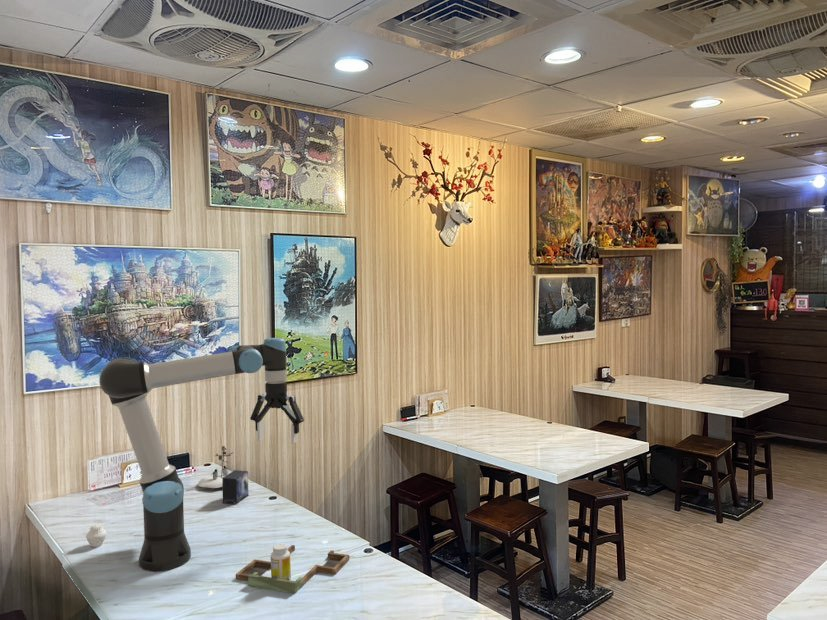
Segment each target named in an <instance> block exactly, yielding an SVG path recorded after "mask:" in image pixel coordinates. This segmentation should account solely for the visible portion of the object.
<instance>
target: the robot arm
mask: <svg viewBox="0 0 827 620" xmlns="http://www.w3.org/2000/svg"><path fill="white" fill-rule="evenodd" d="M262 367H264V381H265V383H264V385H265V386H264V389H265V390H264V391H265V394H264V393H261V394H258V395H257V402H256V404H255V406H254V408H253V410H252V413H251V415H250V417H249V418H250V421H254V423H255V431H256V432H257V441H258V442H261V441H263V440H264V439H265V433H264V420H263V418H264V417H265V416H266V415H267V413H268V412H269V410H270V409H279V410H280V409H281V411H283V412H284V413H285V415H286V416H287V418H288V419H289V420H290V421H291V423H292V424H290V425H291V426H290V427H291V429H290V431H291V435H290V436H291V444H296V443H297V442H298V434H299V432H300V424H302V423H304V421H305V418H304V415H302V412H301V410H300V408H299V406H298V403H297V401H296V396H295V395H294V394H293V395H291V396H288V383H287V345H286V339H284V338H282V337H269V338H268V337H267V338H264V341H263V343H262V344H250V345H249V344H247V345H246V344H245V345H240V344H238V345H233V346H230V347H229V348H228V351H227V352H226V351H225V352H221V353H220V352H219V353H214V354H207V355H202V356H194V357H189V358H188V357H187V358H183V359H182V358H181V359H175V360H169V361H163V362H162V361H161V362H155V363H148V362H146V361H142V362H141V361H140V362H139V361H138V360H136V359H134V358H132V357H126V356H121V357H116V358H115V359H112V360H110V361H109V362H108V363H107V364H105V367H103V369H102V370H101V372H100V375H99V381H98V382H99V385H100V389H101V390H102V391H103V392H104V394H105V395H106V396H107V395H108V398H109V400H110V404H111V405H112V406H115V407H117V408H118V410H119V413H120V416H121V418H122V422H123V424H124V426H125V430H126V433H127V436H128V437H129V441H130V444H131V447H132V449H133V453H134V456H135V459H136V460H137V463H138V467H139V469H140V472H141V477H140V479H139V480H138V481H139V485H140V487H141V491H142V500H141V501H142V506H143V535H144V540H143V542H142V547H141V550H140V552H139V557H138V565H139V567H140V568H141V569H142V570H145V571H149V572H150V571H151V572H160V571H166V570H171V569H175V568H177V567H180V566H183V565H184V564H185V563H187V562H189V560H190V559H191V557H192V553H191V552H192V550H191V549H192V548H191V546H190V544H189V541H188V538H187V537H186V534H185V518H184V517H185V515H184V514H185V512H184V511H185V510H184V497H185V496H184V495H185V494H184V493H185V490H184V489H185V488H184V484H183V483H184V482H183V481H182V480H181V478H180V477H179V474H178V470H177V468H176V466H175V465H172V464H170V463H169V460H168V458H167V455H166V452H165V449H164V446H163V443H162V441H161V437H160V435H159V432H158V428H157V425H156V423H155V420H154V417H153V414H152V412H151V409H150V405H149V404H148V400H147V396H148V394H149V393H150V392H151V391H152V390H153V389H156V388H163V387H169V386H174V385H179V384H186V383H191V382H199V381H203V380H209V379H215V378H220V377H226V376H232V375H239V374H254V373H257V372H259V371H260V370H261V368H262ZM264 401H266V403H265V405H264ZM288 403H289V404H288ZM263 405H264V407H263V408H262V406H263Z"/></svg>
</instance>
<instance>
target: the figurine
mask: <svg viewBox="0 0 827 620" xmlns="http://www.w3.org/2000/svg"><path fill="white" fill-rule="evenodd" d="M221 451H222V454H218V453H215V457H218V460H220V461H221V474H218V472H219V471H218V469H217V468H216V469H214V471H213V472H212V473H211V474H210V476H207V477H205V478H202V479H200V480H198V483H197V486H198V487H201V488H210V489H217V488H222V478H223V477H224V476H226V475H228V474H229V469H228V467H226V465H224V463H225V464H227V463H228V462H229V461H228V460H226V461H225V457H226V458H227V457H231V456H232V455H233V453H234V452H231V453H228V454H227V447H226V446H225V445H222V446H221Z"/></svg>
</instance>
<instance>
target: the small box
mask: <svg viewBox="0 0 827 620" xmlns="http://www.w3.org/2000/svg"><path fill="white" fill-rule="evenodd" d="M221 488H222V504H228V505H229V504H230V505H237V504H239V503H240V502H241V501H244V500H245V499H246V498H247V497H249V471H247V470H238V469H237V470H236V469H235V470H233V471H231V472H230V473H229V472H228V475H226V476H224V477H223V478H222V487H221Z"/></svg>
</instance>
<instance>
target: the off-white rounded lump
mask: <svg viewBox="0 0 827 620" xmlns="http://www.w3.org/2000/svg"><path fill="white" fill-rule="evenodd" d="M107 534H108V533H107V531H106V530H105V529H104V528H103V526H102V525H101V524H94V525H92V526H91V527H90V528H89V531H88V532H87V534H86V535H85V539H86V541H87V542H88V544H89V545H90V546H91V548H98V547H101V546H102V545H103V544H104V541H105V539H106V537H107Z"/></svg>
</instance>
